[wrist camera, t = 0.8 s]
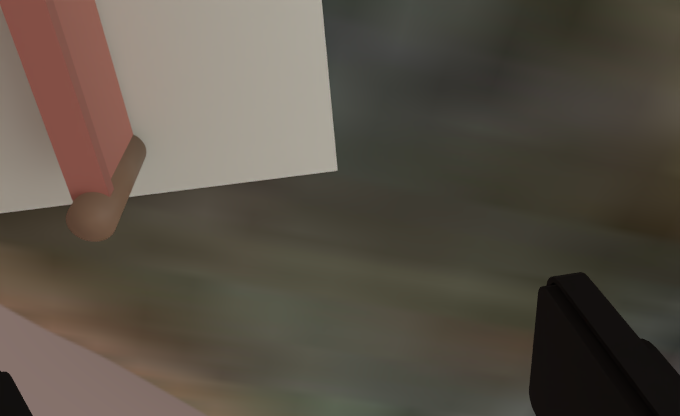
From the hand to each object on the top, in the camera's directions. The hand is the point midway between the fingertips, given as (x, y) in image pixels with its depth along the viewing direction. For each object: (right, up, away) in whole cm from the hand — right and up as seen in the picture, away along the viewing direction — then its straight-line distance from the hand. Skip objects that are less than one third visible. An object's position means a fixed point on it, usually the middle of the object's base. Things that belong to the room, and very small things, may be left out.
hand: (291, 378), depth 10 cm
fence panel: (-10, +10, +15) cm, 20 cm away
